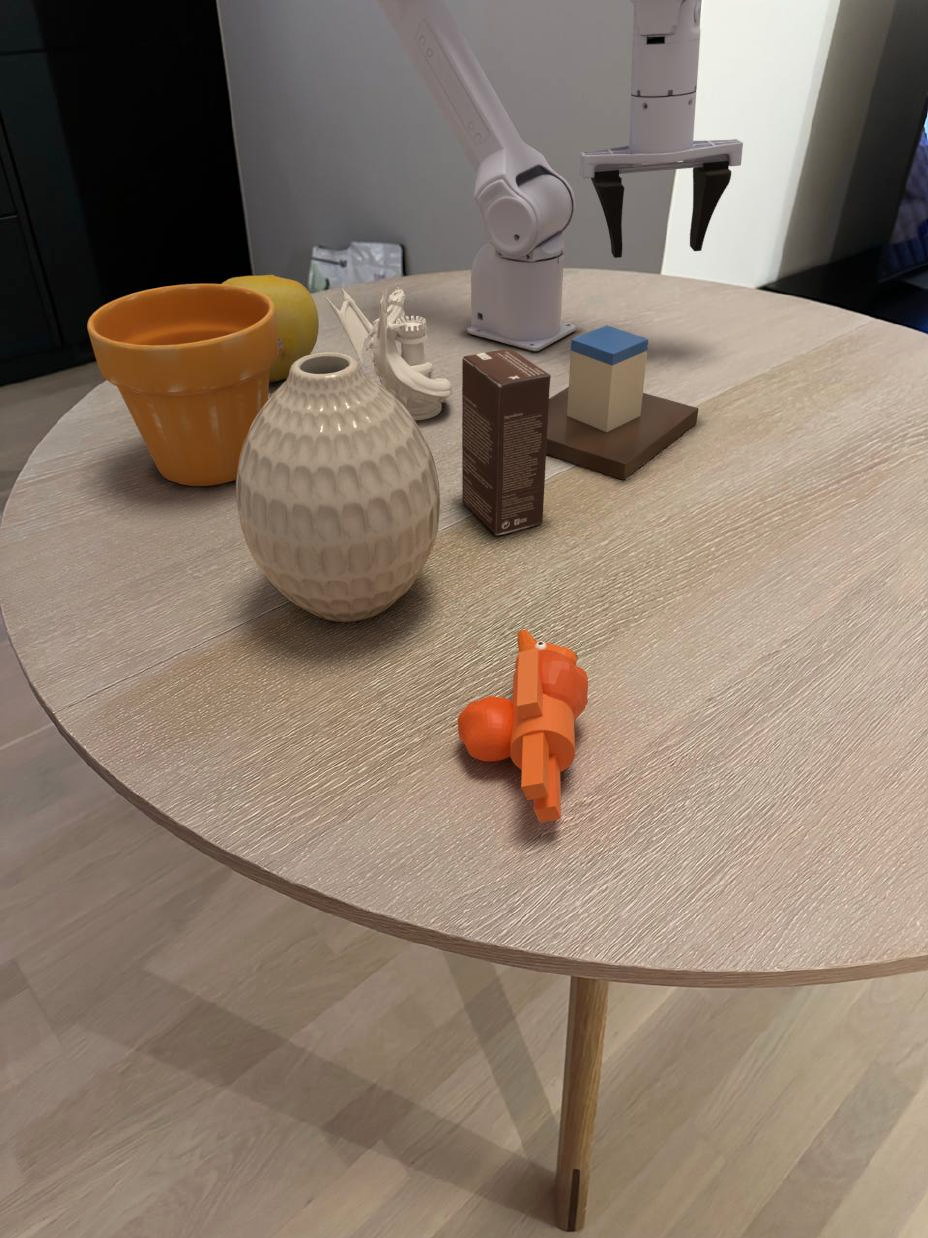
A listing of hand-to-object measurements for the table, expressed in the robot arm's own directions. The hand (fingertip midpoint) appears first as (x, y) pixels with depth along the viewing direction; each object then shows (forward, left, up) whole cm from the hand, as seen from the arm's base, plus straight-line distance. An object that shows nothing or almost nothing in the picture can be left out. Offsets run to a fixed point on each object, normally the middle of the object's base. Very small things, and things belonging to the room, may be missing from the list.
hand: (656, 251), depth 90 cm
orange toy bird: (+23, -54, -11) cm, 60 cm away
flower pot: (-18, -42, -11) cm, 47 cm away
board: (+6, -18, -10) cm, 21 cm away
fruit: (-28, -26, -11) cm, 40 cm away
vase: (+5, -49, -11) cm, 51 cm away
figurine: (-12, -25, -11) cm, 30 cm away
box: (+7, -34, -11) cm, 36 cm away
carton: (+6, -18, -9) cm, 21 cm away
